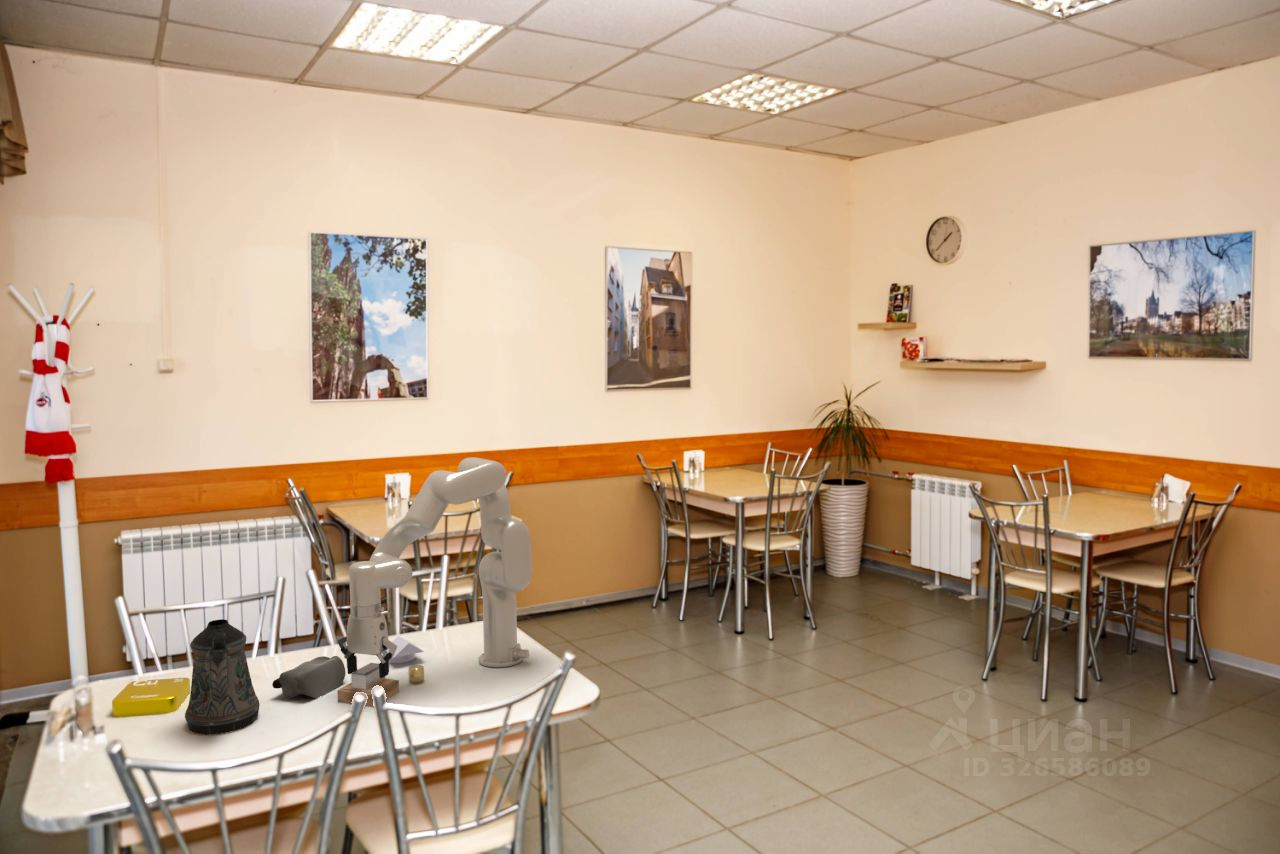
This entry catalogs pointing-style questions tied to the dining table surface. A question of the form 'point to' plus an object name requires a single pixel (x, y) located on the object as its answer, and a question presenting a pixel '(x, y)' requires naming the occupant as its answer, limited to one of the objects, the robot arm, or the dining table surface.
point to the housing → (366, 677)
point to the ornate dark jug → (220, 682)
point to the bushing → (416, 674)
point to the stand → (368, 691)
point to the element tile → (151, 697)
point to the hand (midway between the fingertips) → (368, 674)
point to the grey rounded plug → (312, 677)
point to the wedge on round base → (403, 650)
